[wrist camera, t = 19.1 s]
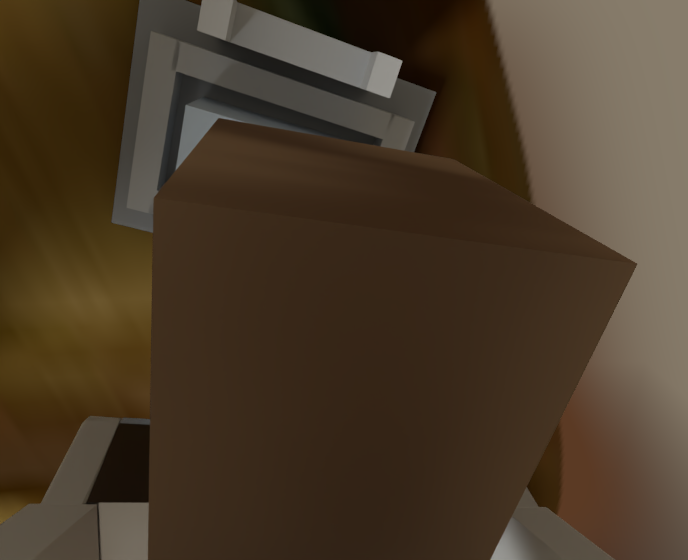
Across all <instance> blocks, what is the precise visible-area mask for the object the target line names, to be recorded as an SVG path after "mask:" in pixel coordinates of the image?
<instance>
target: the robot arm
mask: <svg viewBox="0 0 688 560" xmlns="http://www.w3.org/2000/svg"><path fill="white" fill-rule="evenodd" d="M149 451H150V419H137V418H111V417H97V416H89V417H88V418H87V419H86V420H85V421H84V422H83V423H82V425H81V427H80V429H79V431H78V433H77V435H76V436H75V438H74V440H73V442H72V444H71V446H70V448H69V450H68V452H67V454H66V456H65V458H64V460H63V462H62V464H61V465H60V467H59V469H58V471H57V473H56V475H55V477H54V479H53V481H52V483H51V485H50V487H49V489H48V491H47V493H46V494H45V496H44V498H43V500H42V502H41V504H28V505H27V506H26V507H24V508H23V509H21V510H20V511H19V512H17V513H16V514H14V515H13V516H12V517H10V518H9V519H7V520H6V521H5V522H3V523H2V524H0V560H148V513H149ZM490 560H614V559H613V558H612V557H611V556H609V555H608V554H607V553H605V552H604V551H603V550H601V549H600V548H598V547H597V546H596V545H595V544H594V543H592V542H591V541H590V540H588V539H587V538H586V537H584V536H583V535H582V534H580V533H579V532H578V531H576V530H575V529H574V528H573V527H571V526H570V525H569V524H567V523H566V522H565V521H563V520H562V519H561V518H560V517H558V516H557V515H556V514H554V513H553V512H552V511H550V510H549V509H548V508H547V507H538V505H537V504H536V502H535V500H534V499H533V497H532V495H531V494H530V492H529V490H528V489H527V487H526V489H525V491H524V493H523V495H522V497H521V499H520V501H519V503H518V505H517V507H516V509H515V511H514V513H513V515H512V517H511V519H510V521H509V523H508V525H507V527H506V529H505V531H504V533H503V535H502V537H501V539H500V541H499V543H498V545H497V547H496V549H495V551H494V553H493V555H492V557H491V559H490Z"/></svg>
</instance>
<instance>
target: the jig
mask: <svg viewBox="0 0 688 560" xmlns="http://www.w3.org/2000/svg"><path fill="white" fill-rule="evenodd" d="M401 64H402V60H399V59H397V58H394V57H391V56H389V55H386V54H383V53H381V52H369V51H366V50H363V49H361V48H358V47H355V46H353V45H350V44H347V43H345V42H342V41H339V40H337V39H334V38H331V37H329V36H326V35H323V34H321V33H318V32H315V31H313V30H310V29H307V28H305V27H302V26H299V25H297V24H294V23H291V22H289V21H286V20H283V19H281V18H278V17H275V16H273V15H270V14H267V13H265V12H262V11H259V10H257V9H254V8H251V7H249V6H246V5H243V4H241V3H238V2H237V0H202V4H201V6H200V5H197V4H194V3H192V2H189V1H186V0H140V1H139V9H138V17H137V25H136V33H135V40H134V48H133V56H132V64H131V72H130V80H129V88H128V96H127V104H126V112H125V119H124V127H123V135H122V143H121V151H120V159H119V167H118V175H117V183H116V191H115V198H114V206H113V214H112V222H111V223H115V224H119V225H123V226H127V227H132V228H136V229H140V230H144V231H148V232H152V233H153V203H154V197H155V196H156V194H157V193H158V192H159V191H160V189H161V188H162V187H163V186H164V184H165V183H166V182H167V181H168V180H169V178H170V177H171V176H172V175H173V173H174V172H175V171H176V165H177V158H178V152H179V145H180V139H181V132H182V126H183V119H184V113H185V106H186V105H187V104H189V103H191V102H193V101H196V100H198V99H200V98H202V97H206V98H209V99H212V100H216V101H219V102H222V103H226V104H229V105H232V106H236V107H239V108H242V109H246V110H249V111H252V112H256V113H259V114H262V115H266V116H269V117H273V118H276V119H279V120H283V121H286V122H289V123H293V124H296V125H299V126H303V127H306V128H309V129H313V130H316V131H319V132H323V133H326V134H329V135H333V136H336V137H339V138H343V139H346V140H349V141H353V142H358V143H364V144H369V145H375V146H381V147H386V148H392V149H398V150H403V151H409V152H414V151H415V148H416V146H417V143H418V140H419V137H420V135H421V132H422V129H423V127H424V124H425V121H426V119H427V116H428V113H429V111H430V108H431V105H432V103H433V100H434V97H435V95H436V92H434V91H431V90H429V89H426V88H423V87H421V86H418V85H415V84H412V83H410V82H407V81H404V80H401V79H399V78H397V76H398V73H399V70H400V67H401Z"/></svg>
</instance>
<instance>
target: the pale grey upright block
mask: <svg viewBox="0 0 688 560" xmlns="http://www.w3.org/2000/svg"><path fill="white" fill-rule="evenodd" d="M218 118H222V119H228V120H233V121H239V122H245V123H250V124H256V125H262V126H267V127H273V128H279V129H284V130H290V131H296V132H301V133H307V134H313V135H318V136H324V137H330V138H335V139H341V140H346V139H343V138H339V137H336V136H333V135H329V134H326V133H323V132H319V131H316V130H313V129H309V128H306V127H303V126H299V125H296V124H293V123H289V122H286V121H283V120H279V119H276V118H273V117H269V116H266V115H262V114H259V113H256V112H252V111H249V110H246V109H242V108H239V107H236V106H232V105H229V104H226V103H222V102H219V101H216V100H212V99H209V98H206V97H202V98H200V99H198V100H196V101H193V102H191V103H189V104H187V105H186V106H185V113H184V119H183V126H182V132H181V139H180V145H179V152H178V158H177V165H176V170H177V168H178V167H179V166H180V165H181V164H182V162H183V161H184V160H185V159H186V157H187V156H188V155H189V154H190V152H191V151H192V150H193V149H194V148H195V146H196V145H197V144H198V143H199V141H200V140H201V139H202V138H203V136H204V135H205V134H206V133H207V132H208V130H209V129H210V128H211V127H212V125H213V124H214V123H215V122H216V120H217V119H218ZM347 141H349V140H347ZM352 142H353V141H352Z"/></svg>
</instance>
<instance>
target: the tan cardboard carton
mask: <svg viewBox="0 0 688 560" xmlns="http://www.w3.org/2000/svg"><path fill="white" fill-rule="evenodd" d="M636 265H637V263H635V262H633V261H631V260H630V259H628V258H626V257H624V256H622V255H621V254H619V253H617V252H616V251H614V250H612V249H610V248H609V247H607V246H605V245H603V244H602V243H600V242H598V241H596V240H594V239H593V238H591V237H589V236H587V235H586V234H584V233H582V232H580V231H579V230H577V229H575V228H573V227H572V226H570V225H568V224H566V223H565V222H563V221H561V220H559V219H557V218H556V217H554V216H552V215H551V214H549V213H547V212H545V211H544V210H542V209H540V208H538V207H536V206H535V205H533V204H531V203H529V202H528V201H526V200H524V199H522V198H521V197H519V196H517V195H515V194H514V193H512V192H510V191H508V190H507V189H505V188H503V187H501V186H500V185H498V184H496V183H494V182H493V181H491V180H489V179H487V178H486V177H484V176H482V175H480V174H479V173H477V172H475V171H473V170H471V169H470V168H468V167H466V166H464V165H463V164H461V163H459V162H457V161H456V160H454V159H449V158H443V157H437V156H432V155H426V154H420V153H415V152H409V151H403V150H398V149H392V148H386V147H381V146H375V145H369V144H364V143H358V142H352V141H347V140H341V139H335V138H330V137H324V136H318V135H313V134H307V133H301V132H296V131H290V130H284V129H279V128H273V127H267V126H262V125H256V124H250V123H245V122H239V121H233V120H228V119H222V118H218V119H217V120H216V122H215V123H214V124H213V125H212V127H211V128H210V129H209V130H208V132H207V133H206V134H205V135H204V136H203V138H202V139H201V140H200V141H199V143H198V144H197V145H196V146H195V148H194V149H193V150H192V151H191V152H190V154H189V155H188V156H187V157H186V159H185V160H184V161H183V162H182V164H181V165H180V166H179V167H178V168H177V170H176V171H175V172H174V173H173V175H172V176H171V177H170V178H169V180H168V181H167V182H166V183H165V184H164V186H163V187H162V188H161V189H160V191H159V192H158V193H157V194H156V196H155V197H154V203H153V265H152V327H151V389H150V451H149V513H148V560H490V559H491V557H492V555H493V553H494V551H495V549H496V547H497V545H498V543H499V541H500V539H501V537H502V535H503V533H504V531H505V529H506V527H507V525H508V523H509V521H510V519H511V517H512V515H513V513H514V511H515V509H516V507H517V505H518V503H519V501H520V499H521V497H522V495H523V493H524V491H525V489H526V487H527V485H528V483H529V481H530V479H531V477H532V475H533V473H534V471H535V469H536V467H537V465H538V463H539V461H540V459H541V457H542V455H543V453H544V451H545V449H546V447H547V445H548V443H549V441H550V439H551V437H552V435H553V433H554V431H555V429H556V427H557V425H558V423H559V421H560V419H561V417H562V415H563V412H564V410H565V408H566V406H567V404H568V402H569V400H570V398H571V396H572V394H573V392H574V390H575V388H576V386H577V384H578V382H579V380H580V378H581V376H582V374H583V372H584V370H585V368H586V366H587V364H588V362H589V360H590V358H591V356H592V354H593V352H594V350H595V348H596V346H597V344H598V342H599V340H600V338H601V336H602V334H603V332H604V330H605V328H606V326H607V324H608V322H609V320H610V318H611V316H612V314H613V312H614V310H615V308H616V306H617V304H618V302H619V300H620V298H621V296H622V294H623V292H624V290H625V288H626V286H627V284H628V282H629V280H630V278H631V276H632V274H633V272H634V270H635V268H636Z"/></svg>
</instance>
